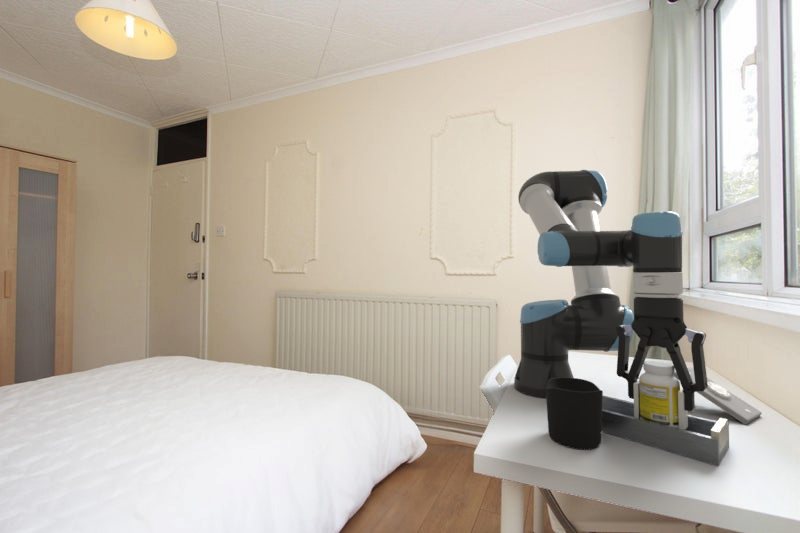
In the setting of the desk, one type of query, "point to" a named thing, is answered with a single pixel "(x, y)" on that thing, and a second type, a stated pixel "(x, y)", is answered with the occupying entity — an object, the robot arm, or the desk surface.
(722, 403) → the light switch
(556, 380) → the pen holder
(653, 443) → the rail
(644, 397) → the pill bottle
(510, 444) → the desk surface
